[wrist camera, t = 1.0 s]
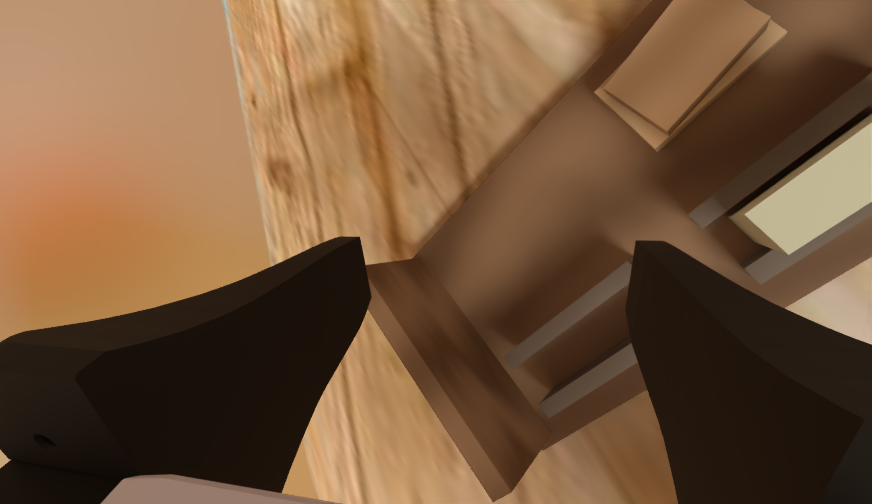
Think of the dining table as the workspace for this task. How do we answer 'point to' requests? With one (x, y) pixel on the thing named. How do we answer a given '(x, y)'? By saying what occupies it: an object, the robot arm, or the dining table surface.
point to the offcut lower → (737, 72)
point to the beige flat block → (813, 193)
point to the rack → (615, 238)
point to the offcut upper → (684, 58)
